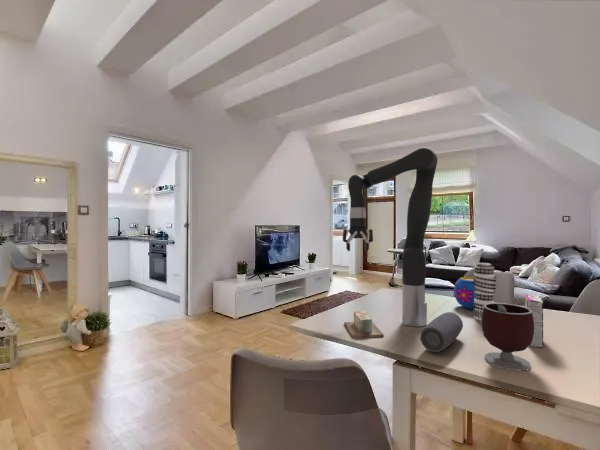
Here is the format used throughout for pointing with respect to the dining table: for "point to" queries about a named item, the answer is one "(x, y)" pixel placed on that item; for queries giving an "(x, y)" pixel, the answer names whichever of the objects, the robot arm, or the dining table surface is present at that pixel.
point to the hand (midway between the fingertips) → (357, 250)
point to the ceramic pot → (465, 292)
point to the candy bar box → (536, 317)
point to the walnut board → (357, 334)
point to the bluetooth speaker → (441, 332)
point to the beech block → (362, 321)
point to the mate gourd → (507, 334)
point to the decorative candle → (483, 287)
